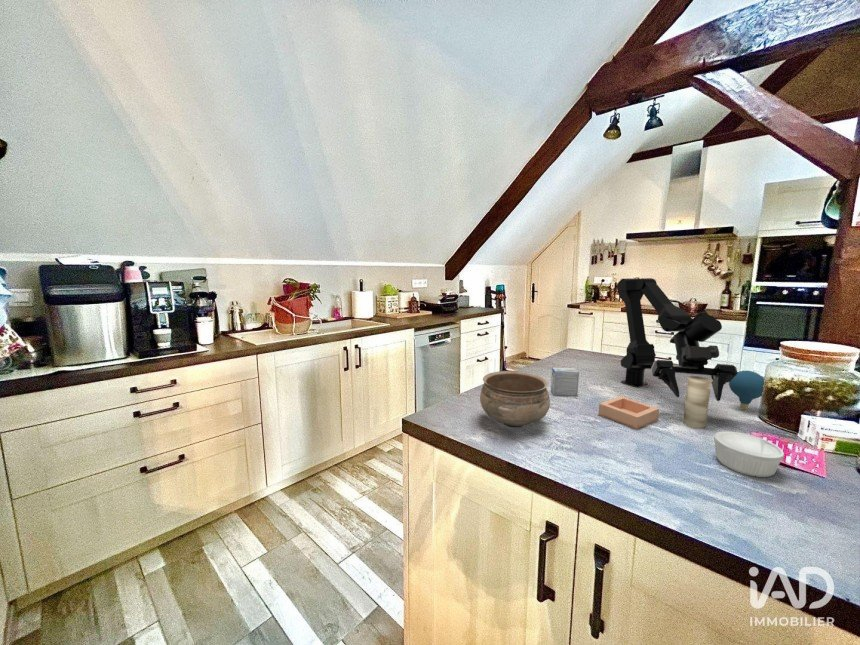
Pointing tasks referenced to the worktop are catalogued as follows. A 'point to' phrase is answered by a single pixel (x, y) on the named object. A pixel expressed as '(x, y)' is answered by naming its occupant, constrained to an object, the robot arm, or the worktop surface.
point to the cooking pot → (515, 397)
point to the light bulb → (747, 387)
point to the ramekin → (747, 453)
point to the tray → (628, 412)
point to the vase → (697, 402)
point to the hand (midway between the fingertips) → (698, 398)
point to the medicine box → (564, 381)
